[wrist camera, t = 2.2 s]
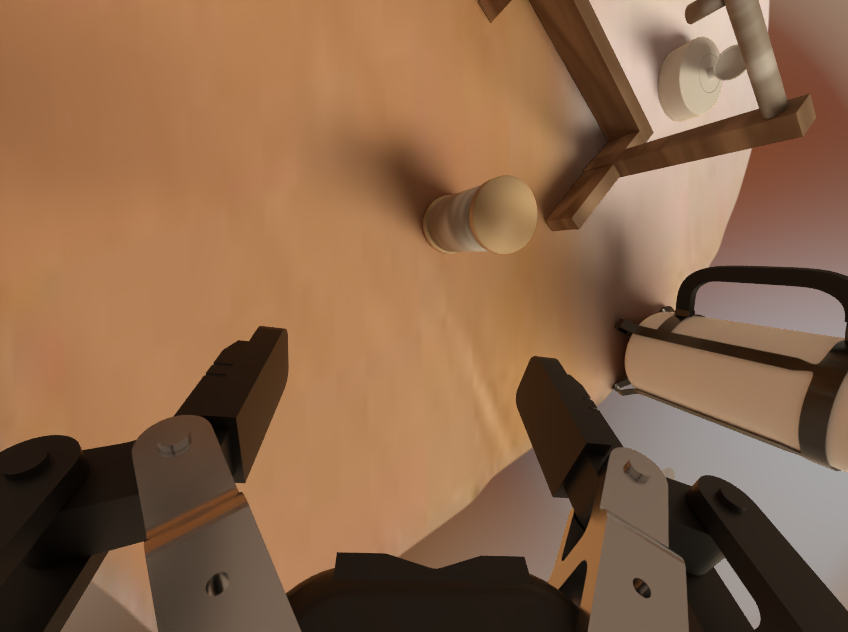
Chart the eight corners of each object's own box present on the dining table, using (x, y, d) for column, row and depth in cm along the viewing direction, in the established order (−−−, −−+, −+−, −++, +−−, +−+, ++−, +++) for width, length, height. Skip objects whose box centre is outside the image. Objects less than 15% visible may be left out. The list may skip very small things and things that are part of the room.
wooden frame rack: (553, 232, 41) (746, 217, 24) (425, 59, 32) (592, -162, 15) (622, 144, 42) (847, 72, 26) (520, -44, 33) (764, -343, 17)
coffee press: (689, 334, 54) (1100, 415, 27) (634, 414, 52) (1018, 590, 25) (643, 259, 47) (1135, 269, 20) (578, 349, 45) (1024, 494, 18)
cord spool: (424, 192, 34) (477, 170, 25) (474, 199, 36) (540, 180, 27) (421, 252, 35) (472, 252, 26) (471, 255, 37) (533, 255, 28)
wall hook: (742, 7, 33) (798, -10, 36) (646, 58, 42) (697, 41, 44) (747, 103, 36) (799, 80, 38) (655, 132, 44) (703, 112, 47)
